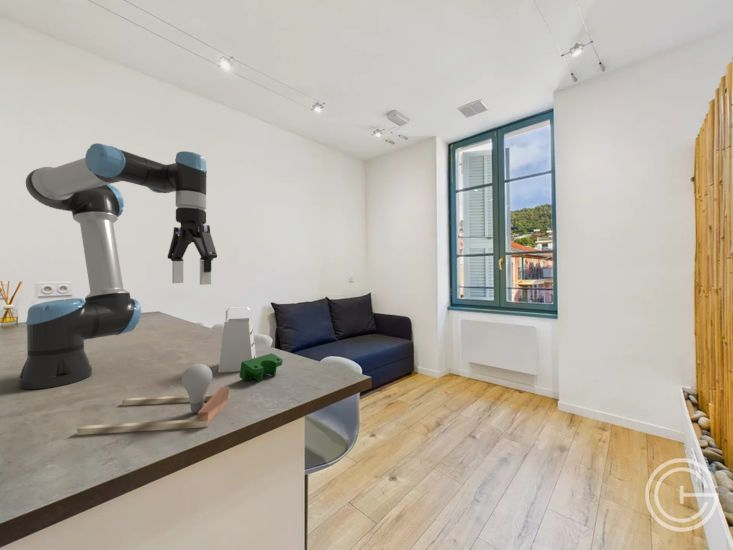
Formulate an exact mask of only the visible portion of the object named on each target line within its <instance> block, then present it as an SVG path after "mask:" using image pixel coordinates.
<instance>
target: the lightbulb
mask: <svg viewBox="0 0 733 550" xmlns="http://www.w3.org/2000/svg"><path fill="white" fill-rule="evenodd" d="M212 380H213V372H212V369H211V368H210V367H209V366H208V365H206V364H203V363H196V364H192V365H190V366H189V367H187V368H186V369H185V370H184V372H183V373H182V375H181V384H182V386H183V388H184V389H185V391H186V393H187V394H188V395H189V402H188V403H190V411H191V412H192V413H195V414H198V412H199V411H200V410H201V409H202V408H203V406H204V405H205V404H204V403H205V401H204V400H205V395H207V394H206V393H207V390H208V388H209V386H210V384H211V382H212ZM188 395H187V396H188Z"/></svg>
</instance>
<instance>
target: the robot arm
mask: <svg viewBox="0 0 733 550" xmlns="http://www.w3.org/2000/svg"><path fill="white" fill-rule="evenodd" d="M207 172H208V171H207V161H206V159H205V157H204V156H203V155H201V154H199V153H195V152H192V151H185V150H184V151H183V150H182V151H178V152H177V153H176V155H175V159H174V163H170V164H169V163H168V164H164V163H162V162H158V161H155V160H152V159H149V158H146V157H143V156H140V155H137V154H134V153H131V152H128V151H125V150H122V149H120V148H117V147H114V146H113V145H107V144H102V143H100V142H99V143H97V142H96V143H92V144H91V145H90V146H89V148H87V150H86V153H85V157H83V158H80V159H78V160H74V161H70V162H68V163H65V164H62V165H59V166H55V167H52V166H43V167H39V168H36V169H34V170H32V171H31V172H29V174H28V175H27V176H26V178H25V187H26V190H27V192H28V193H29V194H30V196H31V197H33V199H35V200H36V201H37V202H38V203H40V204H42V205H44V206H46V207H49V208H52V209H56V210H61V211H68V212H71V215H72V219H73V220H74V221H75V222H77V224H79V225H80V232H81V238H82V239H81V240H82V245H83V253H84V258H85V259H84V260H85V266H86V273H87V279H88V286H89V293H88V294H87V295H86V296H85V297H84V299H83V298H79V297H78V298H77V297H76V298H65V299H64V298H63V299H56V300H55V299H54V300H49V301H44V302H40V303H36V304H33V305H32V306H30V307H29V308H28V310H27V319H26V321H25V324H26V331H27V332H26V338H27V340H26V342H27V346H26V347H27V355H26V356H27V358H26V360H25V362H24V365H23V367H22V369H21V373H20V375H19V376H18V379H17V387H18V388H19V389H21V390H41V389H47V388H54V387H60V386H64V385H70V384H72V383H73V384H74V383H76V382H79V381H83V380H85V379H87V378H89V377H90V376H92V374H93V366H92V365H91V363H90V360H89V357H88V356H87V354H86V351H85V340H92V339H98V338H105V337H110V336H119V335H122V334H125V333H131V332H132V331H134V330H135V329H136V327H138V325H139V323H140V320H141V317H142V309H141V308H142V307H141V305H140V303H139V301H138V299H134V298H131V295H130V294H131V293H130V291H128V290H126V289H124V284H123V278H122V272H121V264H120V259H119V253H118V245H117V241H116V240H117V239H116V233H115V228H114V224H115V222H117V221H118V218H119V217H120V216H121V215H122V214H123V212H124V209H123V208H124V206H125V201H124V197H123V195H122V193H121V192H120V190H119V189H118V188H117V187H115V186H114V185H111V184H114V183H119V182H126V183H130V184H133V185H138V186H141V187H145V188H146V187H147V189H149V190H150V191H151V192H153V193H156V194H170V193H174V192H175V206H176V209H175V221H176V222H177V223H180V227H178V226H174V227H173V232H172V234H173V235H172V238H171V243H170V246H169V250H168V253H167V259H170V260H171V261H172V264H171V266H172V268H171V269H172V273H171V274H172V279H171V280H172V284H184V261H185V260H184V258H183V257H184V255H185V253H186V251H187V249H188V247H189V245H190V244H192V243H193V244H194V247H195V248H196V250H197V252H198V253H199V256H200V258H199V285H205V286H206V285H212V284H211V283H212V261H213V260H214V259H217V257H218V254H217V250H216V247H215V244H214V241H213V237H212V235H211V234H212V233H211V226H210V224H207V212H206V209H207Z"/></svg>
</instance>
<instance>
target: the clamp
mask: <svg viewBox="0 0 733 550" xmlns="http://www.w3.org/2000/svg"><path fill="white" fill-rule="evenodd" d="M282 365H283V358H281V357H280V356H278V355H275V354H274V353H271V352H270V353H268V354H265V355H261V356H256V358H253V359H250V360H247V361H243V362H242V364H241V369H240V371H239V378H240V379H242V381H244V382H247V381H251V380H254V379H255V380H256V381H258V382H261V383H262V382H263V378H264V375H269V376H271V377H276V375H277V374H276V373H277V368H279V367H281V366H282Z"/></svg>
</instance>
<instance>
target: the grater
mask: <svg viewBox="0 0 733 550" xmlns="http://www.w3.org/2000/svg"><path fill="white" fill-rule="evenodd" d="M230 309H247V310H248V311H249V313H248V314H249V318H244V317H243V318H229V310H230ZM251 314H252V310H251V308H250V307H249V306H230V307H229V308H228V309H227V310H225V322H224V323H223V331H222V337H221V347H220V355H219V363H218V370H217V373H230V372H231V373H232V372H240V369H241V364H242V362H243V361H247V360H250V359H253V358H257V353H256V345H255V335H254V326H253V319H252V315H251Z"/></svg>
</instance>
